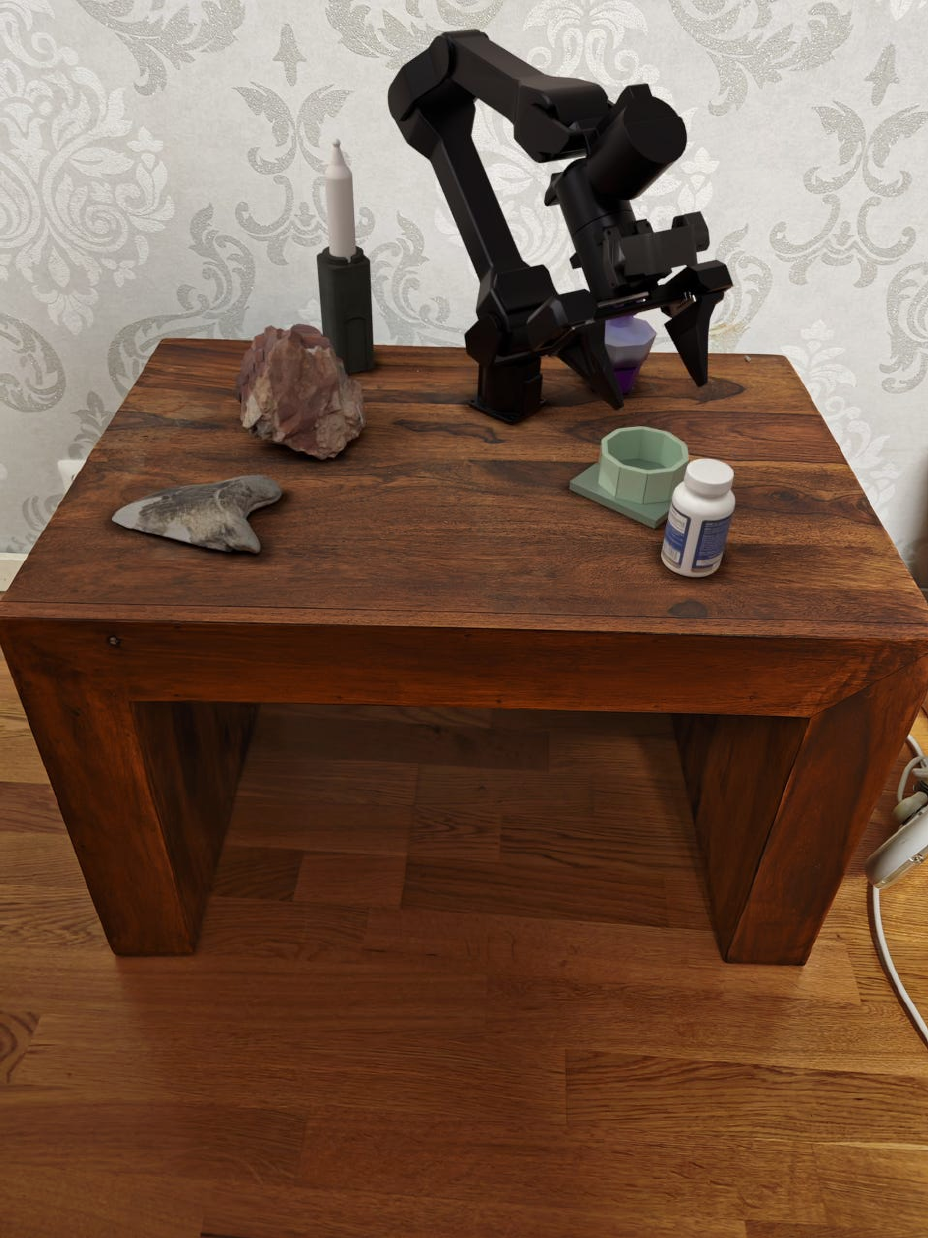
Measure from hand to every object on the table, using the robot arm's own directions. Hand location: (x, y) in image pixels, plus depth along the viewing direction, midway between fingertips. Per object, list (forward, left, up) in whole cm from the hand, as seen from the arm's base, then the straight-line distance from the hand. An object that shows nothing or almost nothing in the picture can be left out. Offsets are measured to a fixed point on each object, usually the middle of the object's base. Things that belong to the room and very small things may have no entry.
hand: (662, 396), depth 85 cm
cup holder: (-3, +4, -13) cm, 14 cm away
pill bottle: (+7, -3, -13) cm, 15 cm away
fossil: (-31, -29, -13) cm, 45 cm away
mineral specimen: (-36, -11, -13) cm, 40 cm away
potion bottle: (-17, +20, -13) cm, 30 cm away
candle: (-43, +3, -13) cm, 45 cm away
